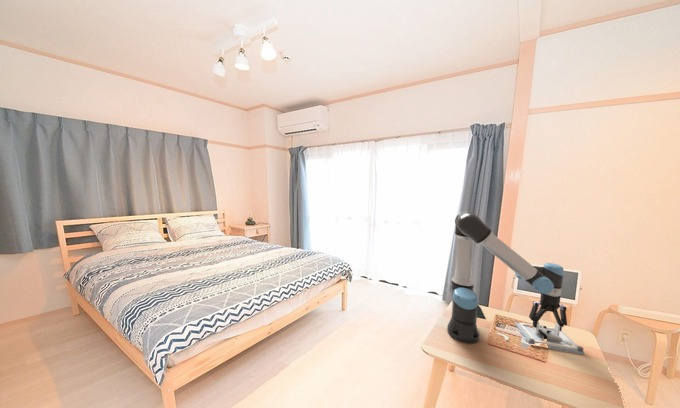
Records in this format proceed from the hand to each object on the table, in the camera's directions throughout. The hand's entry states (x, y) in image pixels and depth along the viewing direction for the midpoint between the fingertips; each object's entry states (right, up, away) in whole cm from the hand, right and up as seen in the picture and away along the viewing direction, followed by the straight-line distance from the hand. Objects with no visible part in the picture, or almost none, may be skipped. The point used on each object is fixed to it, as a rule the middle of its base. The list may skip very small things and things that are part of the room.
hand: (545, 334), depth 123 cm
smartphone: (-22, 0, +25) cm, 33 cm away
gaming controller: (0, -1, 0) cm, 1 cm away
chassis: (0, -2, 0) cm, 2 cm away
